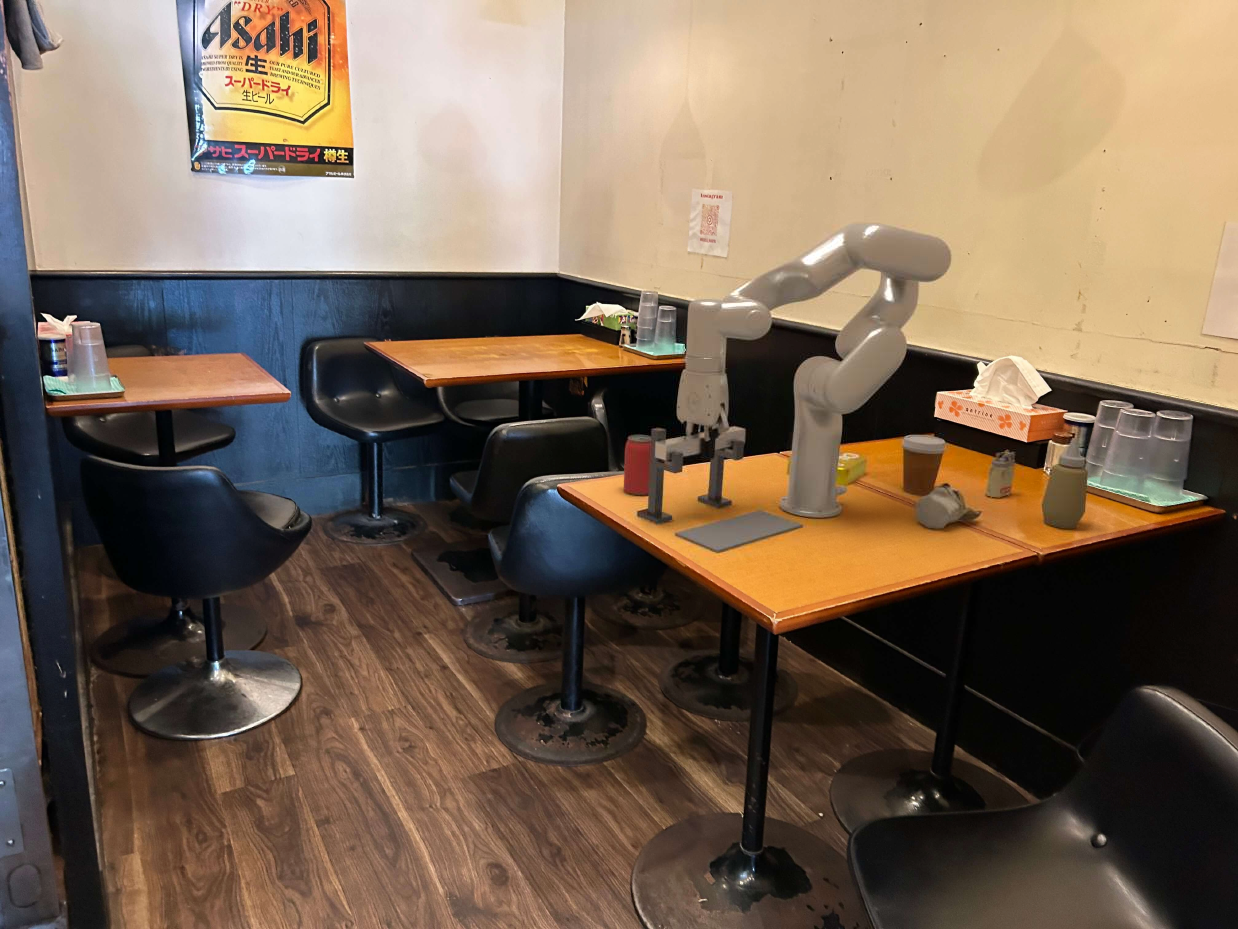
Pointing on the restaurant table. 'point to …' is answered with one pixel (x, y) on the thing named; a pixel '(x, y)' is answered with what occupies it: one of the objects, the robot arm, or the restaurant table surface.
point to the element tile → (846, 468)
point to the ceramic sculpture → (943, 508)
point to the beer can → (637, 465)
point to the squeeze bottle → (1066, 490)
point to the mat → (738, 530)
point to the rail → (696, 443)
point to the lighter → (1001, 475)
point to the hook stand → (676, 465)
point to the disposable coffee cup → (921, 463)
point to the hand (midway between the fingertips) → (701, 456)
